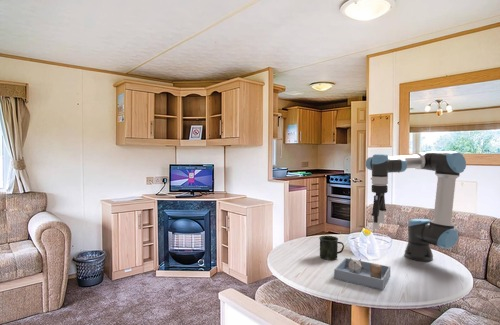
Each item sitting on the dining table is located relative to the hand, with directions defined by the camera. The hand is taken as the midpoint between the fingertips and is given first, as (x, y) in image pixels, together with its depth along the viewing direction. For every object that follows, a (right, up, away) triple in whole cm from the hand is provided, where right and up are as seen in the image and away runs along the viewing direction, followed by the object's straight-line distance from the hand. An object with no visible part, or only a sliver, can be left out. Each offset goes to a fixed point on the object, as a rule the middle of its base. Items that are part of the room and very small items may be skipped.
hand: (378, 225), depth 158 cm
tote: (-8, -27, +1) cm, 28 cm away
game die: (-11, -26, +3) cm, 29 cm away
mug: (-17, -26, +29) cm, 42 cm away
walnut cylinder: (-3, -26, -3) cm, 27 cm away
